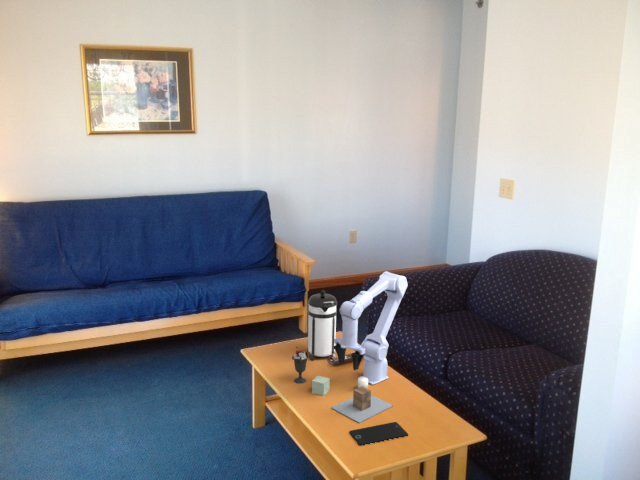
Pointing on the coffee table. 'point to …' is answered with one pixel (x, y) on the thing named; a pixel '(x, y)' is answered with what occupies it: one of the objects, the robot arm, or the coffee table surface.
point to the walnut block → (362, 398)
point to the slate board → (358, 415)
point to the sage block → (320, 385)
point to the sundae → (300, 364)
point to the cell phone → (378, 433)
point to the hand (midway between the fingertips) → (348, 366)
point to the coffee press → (321, 325)
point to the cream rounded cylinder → (363, 382)
